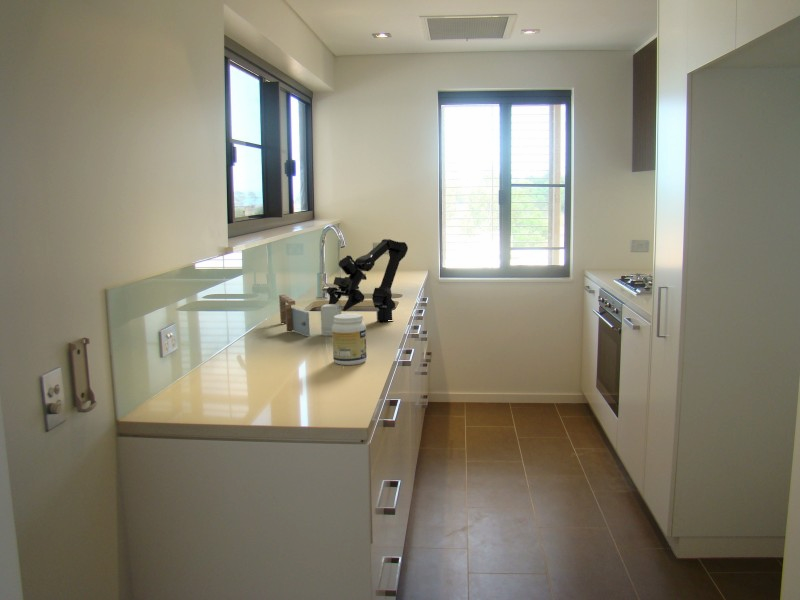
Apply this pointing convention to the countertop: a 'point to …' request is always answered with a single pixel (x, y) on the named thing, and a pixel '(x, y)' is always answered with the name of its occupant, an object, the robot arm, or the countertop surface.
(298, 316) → the door
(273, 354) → the countertop surface
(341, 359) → the supplement tub
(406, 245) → the robot arm
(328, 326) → the supplement box
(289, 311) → the door frame
